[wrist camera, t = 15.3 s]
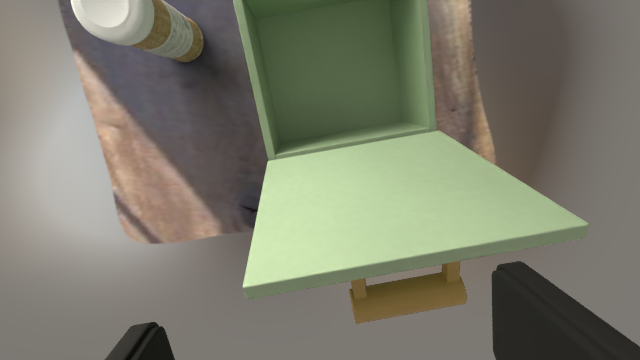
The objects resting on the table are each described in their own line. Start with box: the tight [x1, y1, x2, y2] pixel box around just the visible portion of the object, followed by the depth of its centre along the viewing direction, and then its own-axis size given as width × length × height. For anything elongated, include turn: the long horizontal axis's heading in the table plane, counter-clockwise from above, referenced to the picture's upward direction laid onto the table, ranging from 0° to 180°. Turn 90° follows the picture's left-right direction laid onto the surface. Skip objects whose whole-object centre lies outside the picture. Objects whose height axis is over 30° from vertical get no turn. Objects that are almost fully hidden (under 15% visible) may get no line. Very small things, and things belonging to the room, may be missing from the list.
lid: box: [243, 131, 589, 324], centre depth 21 cm, size 15×15×5 cm
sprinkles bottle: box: [71, 0, 204, 62], centre depth 26 cm, size 5×5×13 cm
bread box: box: [233, 0, 437, 161], centre depth 30 cm, size 14×15×9 cm
